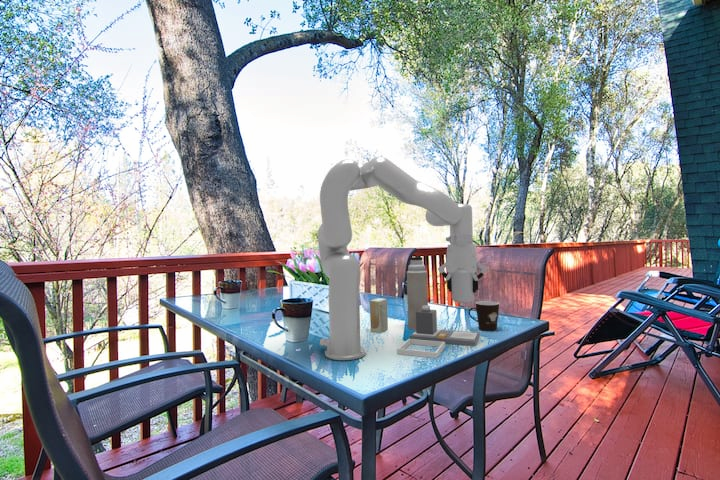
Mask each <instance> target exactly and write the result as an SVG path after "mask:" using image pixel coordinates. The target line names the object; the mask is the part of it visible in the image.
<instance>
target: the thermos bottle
mask: <svg viewBox="0 0 720 480" xmlns="http://www.w3.org/2000/svg"><path fill="white" fill-rule="evenodd" d="M423 259H424V258H423V257H420V256H415V257H414V256H413V257H410V258H409V260H410V263H409V265H408V268H407V269H408V270H407V271H406V292H407V293H406V294H407V297H406V298H407V324H408V325H407V326H408V327H407V328H408V330H412V331H416V312H417V311H418V310H420V309H422V306H424V305H428V306H429V304H428V303H429V302H428V301H429V300H428V299H429V298H428V295H429V291H428V289H429V288H428V271H427V270H426V265H425V264H424V263H423V262H424V261H423Z"/></svg>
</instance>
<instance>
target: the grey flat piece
mask: <svg viewBox="0 0 720 480" xmlns="http://www.w3.org/2000/svg"><path fill="white" fill-rule="evenodd" d="M480 338H481V332H475V331H462V330H461V331H460V330H449V329H437V331H436V332H435V333H434V334H433V335H430V334H418V333H416V330H414V332H413V333H411V334H410V335H409V339H417V340H429V341H440V342H445V345H446V344H447V345H456V346H457V345H458V346H459V345H460V346H470V347H476V346H477V344H478V342H479V340H480Z"/></svg>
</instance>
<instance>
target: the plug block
mask: <svg viewBox="0 0 720 480" xmlns="http://www.w3.org/2000/svg"><path fill="white" fill-rule="evenodd" d="M437 318H438V317H437V309H431V306H430V305H429V304H428V305H424V306H422V309H420V310H418V311H417V312H416V330H415V331H416V333H418V334H430V335H433V334H434V333H435V332H436V331H437V330H438V326H437V325H438V323H437V322H438V319H437Z"/></svg>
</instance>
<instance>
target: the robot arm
mask: <svg viewBox="0 0 720 480" xmlns="http://www.w3.org/2000/svg"><path fill="white" fill-rule="evenodd" d="M377 186H379V188H382V189H383V191H384V190H385V192H387V193H388V194H390V195H391V196H392V197H394V198H395V199H396V200H398V201H399V202H401V203H404V204H408V205H412V206H416V207H420V208H423V209H425V210H426V211H425V217H424V218H425V220H426V222H427V223H428V224H429V225H431V226H432V227H444V226H449V236H447V237H446V238H445V241H446V242H449V244H447V248H446V259H445V262H444V263H443V264H442V265H441V266H439V267H438V268H437V269H438V270H437V271H439V273H440V274H441V276H442V277H443V278H445V280H446V284H447V285H446V289H447V290H448V292H450V293H452V291H451V274H453V272H454V271H456V270H458V269H457V268H464V270H466V271H467V272H468V273H469V274H472V276H473V278H474V281H473V292H474V294H476V293H477V291H478V290H479V280H480V279H481V278H482V277H483V276H484V275H485V274H486V272H487V271H488V268H487V267H486V266H485V265H483V264H482V263H480V262H479V261H478V254H477V252H478V251H477V248H476V244H475V243H474V238H473V237H474V235H473V209H472V208H473V207H472V206H471V205H470V204H467V203H457V202H456V201H455V200H453V198H451V197H449V195H447V194H446V193H444V192H442V191H441V190H439V189H437V188H436V187H432V186H431V185H428V184H426V183H423V182H420V181H419V180H417V179H415V178H414V177H412V176H411V175H410V174H408V173H407V172H406V171H404V170H403V169H401V168H400V167H399V166H397V165H396V164H395V163H393V162H392V161H391V160H389V159H388V158H386V157H384V156H377V157H374V158H371V159H370V160H369V161H368V162H364V163H359V164H358V162H356V161H355V160H353V159H351V158H350V159H343V160H340V161H339V162H337V163H336V164H335V165H334V166H333V167H331V168H330V169H329V170H328V171H327V174H326V175H325V177H324V179H323V181H322V184H321V187H320V190H319V191H320V193H319V205H320V213H321V222H322V223H321V224H320V225H319V228H318V230H317V245H318V250H319V257H320V263H321V268H322V272H323V273H324V275H325V276H326V278H328V279H329V281H328V319H329V320H328V322H329V323H328V325H329V338H328V339H327V338H320V341H319V346H320V347H325V348H326V350H325V351H324V355H325V357H326V358H327V359H329V360H334V361H351V360H358V359H361V358H363V357H364V356H366V354H367V353H366V352H367V350H366V348H365V347H363V346H362V345H361V317H360V316H361V313H360V309H361V308H360V307H361V306H360V283H361V265H360V262H359V260H358V259H357V258H356V257H355V256H354V255H352V254H351V253H349V252H348V245H349V244H350V243H351V242H352V240H353V231H352V225H351V218H350V212H349V203H348V201H349V200H348V199H349V194H350V191H356V190H357V191H358V190H364V189H369V188H374V187H377ZM444 269H445V270H444ZM479 269H481V271H480V273H477V272H478V270H479Z"/></svg>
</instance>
